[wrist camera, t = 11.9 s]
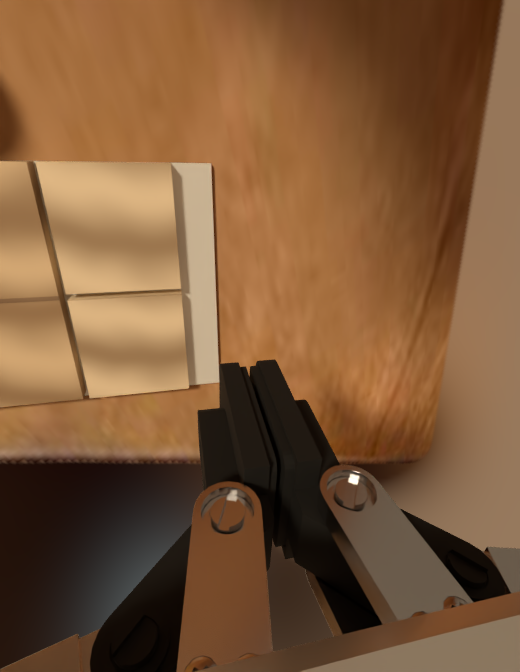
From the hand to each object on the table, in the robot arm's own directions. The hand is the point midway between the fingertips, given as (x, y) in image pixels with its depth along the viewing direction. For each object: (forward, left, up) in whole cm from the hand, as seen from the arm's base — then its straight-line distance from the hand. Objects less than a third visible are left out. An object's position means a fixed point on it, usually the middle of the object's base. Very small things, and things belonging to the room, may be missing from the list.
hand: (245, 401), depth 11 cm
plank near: (-2, -6, -19) cm, 20 cm away
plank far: (+7, -6, -19) cm, 21 cm away
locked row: (+3, -14, -19) cm, 24 cm away
